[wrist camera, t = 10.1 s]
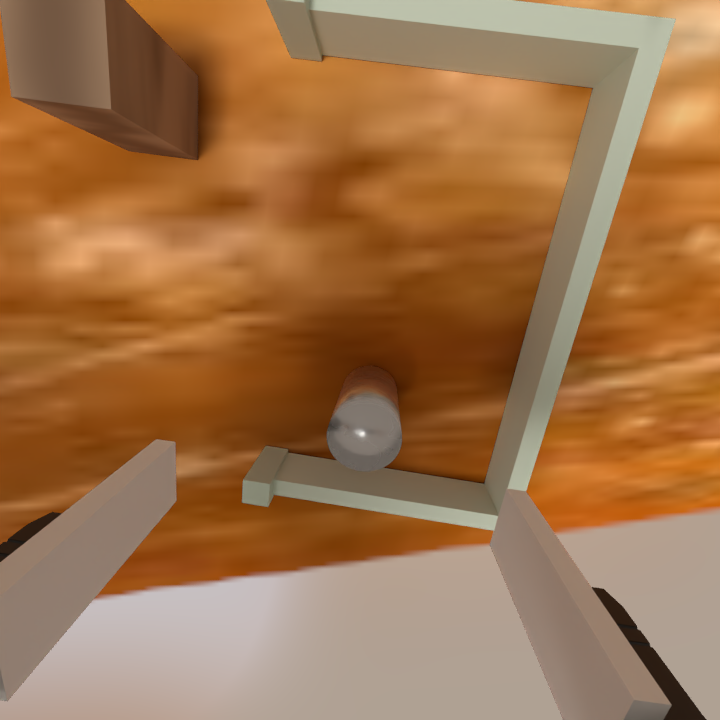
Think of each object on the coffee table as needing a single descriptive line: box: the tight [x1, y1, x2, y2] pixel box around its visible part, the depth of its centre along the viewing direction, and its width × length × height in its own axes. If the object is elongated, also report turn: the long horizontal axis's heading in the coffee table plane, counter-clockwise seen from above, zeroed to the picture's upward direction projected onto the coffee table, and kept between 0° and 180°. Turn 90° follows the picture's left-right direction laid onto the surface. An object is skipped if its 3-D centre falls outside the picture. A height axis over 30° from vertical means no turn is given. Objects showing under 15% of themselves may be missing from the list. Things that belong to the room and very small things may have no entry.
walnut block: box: [0, 0, 198, 160], centre depth 17 cm, size 4×4×7 cm
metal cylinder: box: [327, 365, 402, 472], centre depth 21 cm, size 4×4×7 cm
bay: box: [242, 0, 676, 531], centre depth 20 cm, size 18×29×4 cm, turn 172°
